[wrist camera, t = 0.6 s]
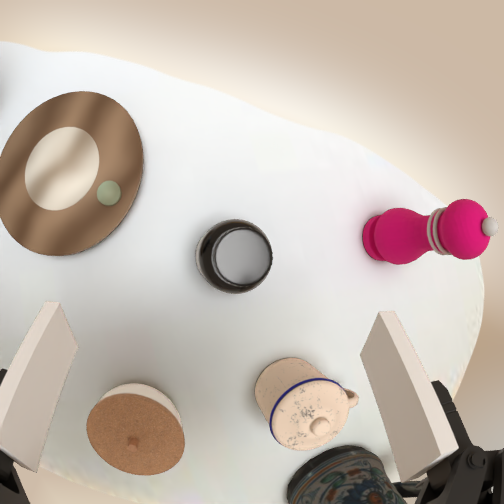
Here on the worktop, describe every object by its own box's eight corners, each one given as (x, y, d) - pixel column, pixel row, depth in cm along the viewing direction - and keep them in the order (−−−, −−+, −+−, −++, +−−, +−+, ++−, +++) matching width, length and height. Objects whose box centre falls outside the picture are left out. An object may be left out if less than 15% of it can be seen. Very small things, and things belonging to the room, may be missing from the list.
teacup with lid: (250, 419, 36) (274, 470, 25) (254, 356, 37) (282, 394, 25) (333, 410, 39) (375, 449, 27) (341, 351, 39) (391, 379, 28)
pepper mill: (357, 212, 40) (472, 182, 20) (397, 212, 41) (508, 189, 22) (360, 265, 40) (479, 269, 20) (400, 262, 41) (514, 263, 22)
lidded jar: (196, 391, 35) (201, 429, 26) (167, 452, 34) (165, 496, 25) (116, 356, 33) (96, 385, 24) (92, 420, 32) (73, 459, 23)
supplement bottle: (184, 268, 35) (183, 273, 23) (212, 216, 36) (225, 196, 24) (236, 296, 36) (260, 313, 25) (263, 245, 37) (299, 238, 25)
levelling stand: (-14, 213, 29) (-31, 209, 25) (59, 85, 32) (49, 70, 27) (96, 285, 33) (86, 289, 29) (175, 137, 35) (175, 123, 31)
